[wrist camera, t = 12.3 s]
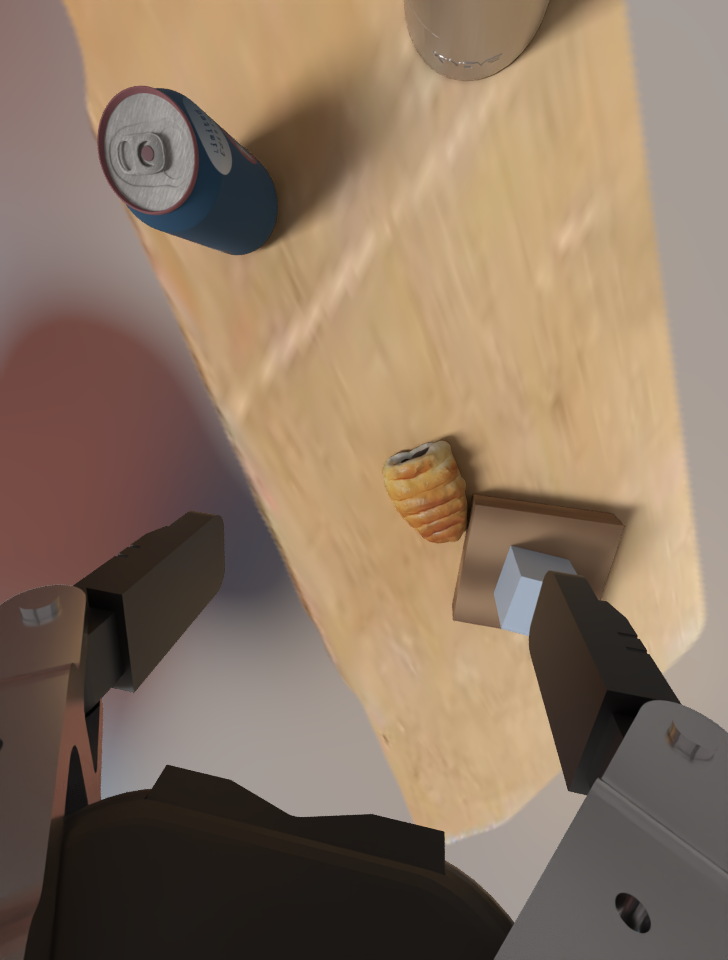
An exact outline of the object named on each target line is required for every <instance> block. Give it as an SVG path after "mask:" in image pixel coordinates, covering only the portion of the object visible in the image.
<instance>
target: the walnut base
mask: <svg viewBox="0 0 728 960" xmlns="http://www.w3.org/2000/svg"><path fill="white" fill-rule="evenodd" d="M624 527H625V526H624V525H623V524H622V523H621V521H620V520H619V519H618V518H617V517H616V516H615V515H614V514H611V513H604V512H596V511H589V510H582V509H575V508H568V507H561V506H554V505H547V504H540V503H532V502H525V501H518V500H511V499H504V498H497V497H490V496H483V495H476V494H473V499H472V504H471V510H470V515H469V520H468V525H467V530H466V536H465V541H464V546H463V551H462V557H461V562H460V567H459V572H458V577H457V583H456V588H455V593H454V598H453V603H452V610H453V620H454V621H460V622H466V623H471V624H477V625H483V626H488V627H494V628H500V629H501V625H500V620H499V616H498V611H497V606H496V602H495V597H494V591H495V588H496V585H497V582H498V580H499V577H500V574H501V571H502V568H503V566H504V563H505V560H506V557H507V554H508V552H509V549H510V546H515V547H519V548H523V549H527V550H531V551H535V552H539V553H543V554H547V555H551V556H555V557H560V558H564V559H568V560H569V561H570V563H571V564H572V566H573V568H574V570H575V571H576V573H577V575H581V576H584V577H585V578H586V579H587V581H588V583H589V585H590V586H591V588H592V590H593V591H594V593H595V595H596V597H597V598H598V600H600V598H601V595H602V592H603V589H604V586H605V583H606V580H607V577H608V575H609V572H610V569H611V566H612V563H613V560H614V557H615V554H616V551H617V548H618V545H619V542H620V539H621V536H622V533H623V530H624Z"/></svg>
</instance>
